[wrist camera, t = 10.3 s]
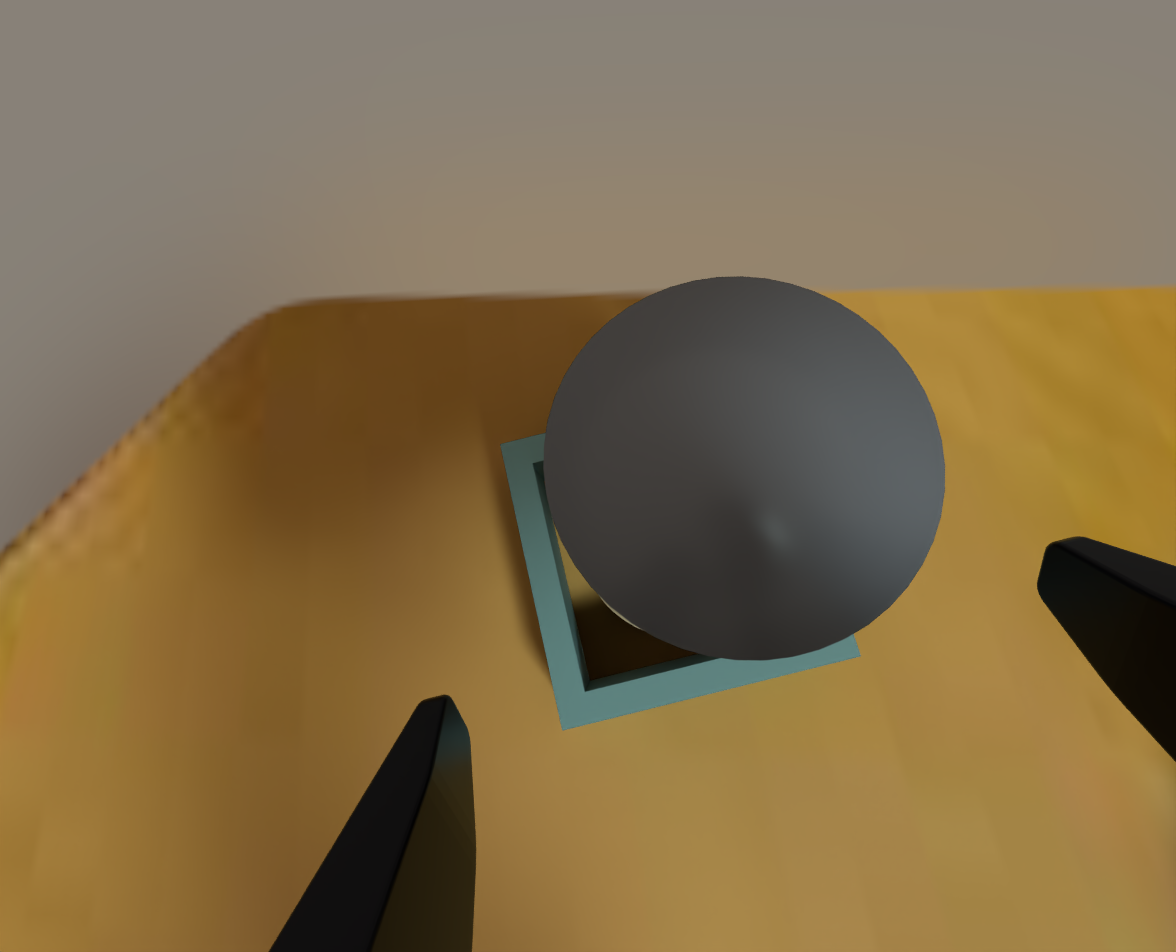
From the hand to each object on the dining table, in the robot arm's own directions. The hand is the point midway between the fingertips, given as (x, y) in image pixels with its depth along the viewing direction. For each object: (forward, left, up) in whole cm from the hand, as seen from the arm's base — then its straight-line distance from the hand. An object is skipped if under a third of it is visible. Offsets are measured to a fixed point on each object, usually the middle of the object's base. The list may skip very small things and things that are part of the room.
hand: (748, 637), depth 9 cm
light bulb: (+2, -1, -10) cm, 10 cm away
